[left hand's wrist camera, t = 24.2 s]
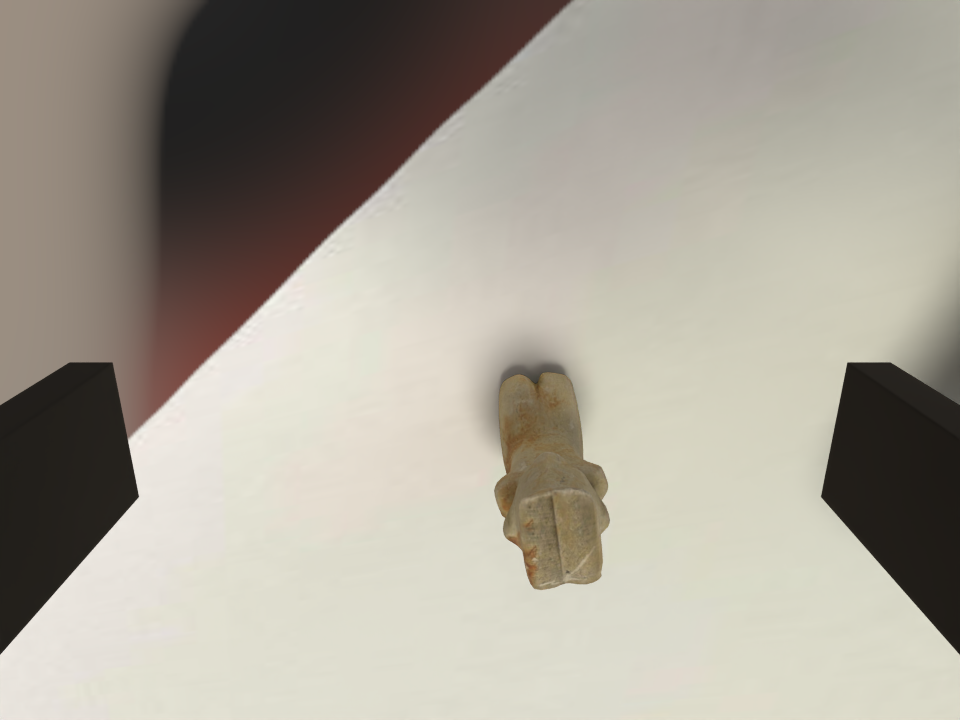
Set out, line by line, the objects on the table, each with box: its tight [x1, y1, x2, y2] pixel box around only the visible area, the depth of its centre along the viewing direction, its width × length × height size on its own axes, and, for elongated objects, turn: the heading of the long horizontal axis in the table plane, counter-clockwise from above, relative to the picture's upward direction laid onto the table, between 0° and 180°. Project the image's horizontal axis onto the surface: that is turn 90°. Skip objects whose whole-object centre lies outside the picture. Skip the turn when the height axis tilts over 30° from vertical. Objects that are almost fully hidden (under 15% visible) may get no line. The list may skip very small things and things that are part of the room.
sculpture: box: [494, 372, 610, 590], centre depth 37 cm, size 6×7×15 cm
